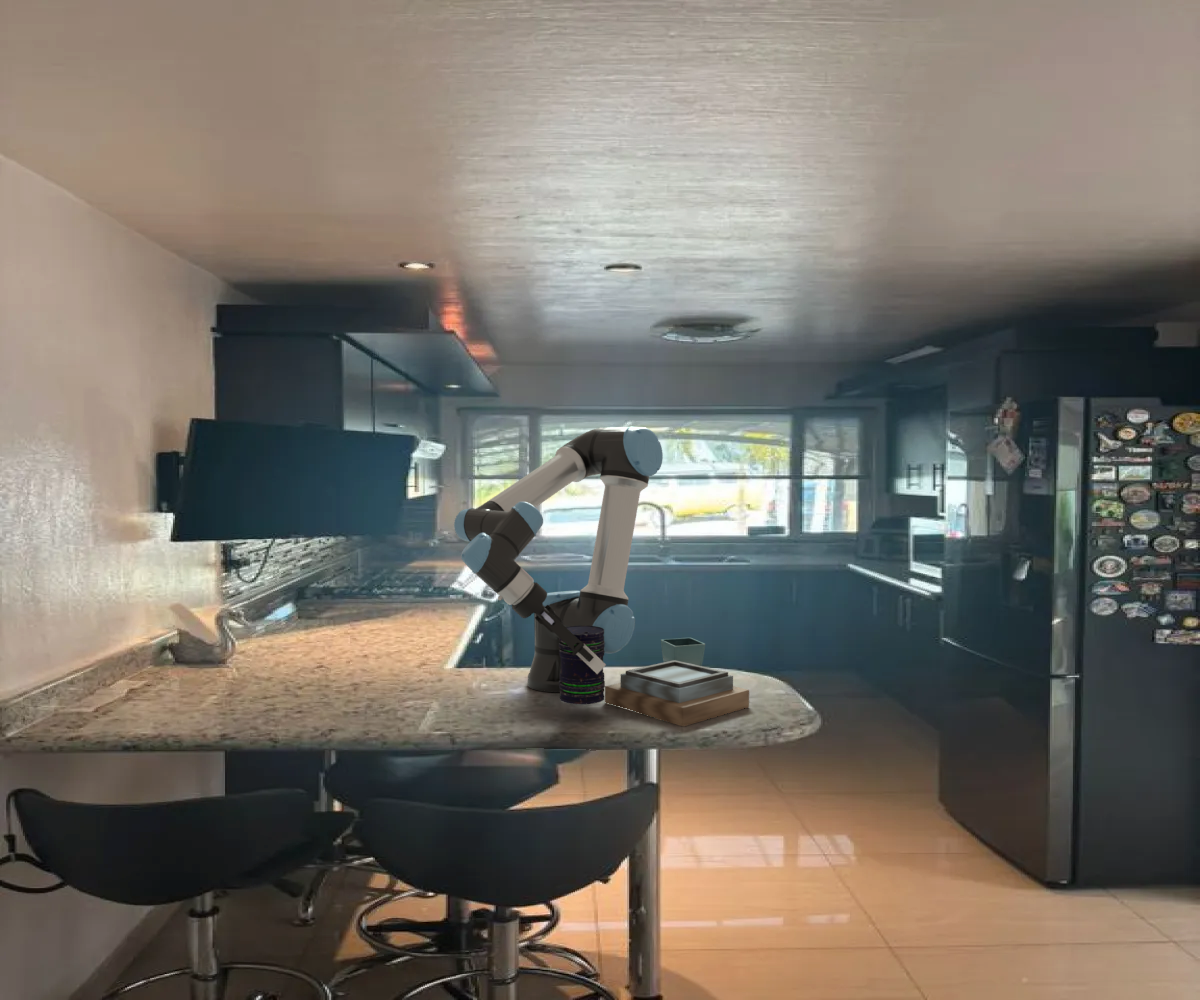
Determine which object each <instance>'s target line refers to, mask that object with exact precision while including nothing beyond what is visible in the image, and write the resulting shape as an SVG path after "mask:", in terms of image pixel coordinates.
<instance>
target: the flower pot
mask: <svg viewBox="0 0 1200 1000" xmlns="http://www.w3.org/2000/svg"><path fill="white" fill-rule="evenodd" d="M660 645H661V646H660V647H661V654H662V661H663V663H664V662H668V661H673V660H676V661H681V662H685V663H690V664H694V665H698V666H703V662H704V655H705V650H706V649H705V648H706V643H705V642H702V641H700V640H697V639H695V638H692V637H681V638H679V637H678V638H665V639H660Z"/></svg>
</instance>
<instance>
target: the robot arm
mask: <svg viewBox="0 0 1200 1000" xmlns="http://www.w3.org/2000/svg"><path fill="white" fill-rule="evenodd" d="M662 448H663V447H662V445H661V442H660V441H659V438H658V435H656V434H655V432H654V431H652V429H649V428H647V427H643V426H635V425H631V426H616V427H614V426H613V427H610V426H609V427H605V426H604V427H597V428H593V429H590V430H589V431H588V430H587V431H586V432H584V433H582V434H580V435H579V436H577V437H575V438H573V439H572V440H570V441H568V442H567V443H565V444H564V445H562V446H561V447H559V448H558V449H557V450H556V452H555V455H554V456H553V457H551V458H550V459H549V460H548V461H545V462H544V463H543V464H541V465H539V466H538V467H537V468H535V469H533V470H532V471H531V472H529V473H528V474H526V475H524V476H523V477H522V478H521V479H519V480H517V481H516V482H514V483H513V484H511V485H510V486H508V487H507V488H505V489H504V490H502V491H501V492H499V493H498V494H496V495H495V496H493V497H492V498H490V499H489V500H488V501H486V502H484V503H483V504H481V505H479V506H478V507H476V508H474V507H470V508H465V509H462V510H460V511H459V512H458V513H457V515H456V516H455V518H454V524H453V528H454V532H455V534H456V536H457V537H458V538H459V539H460V540H462V541H464V542H469V543H467V545H465V547H464V548H463V550H462V551H461V554H460V559H461V560H462V562H463V563H464V564H465V566H466V567H468V569H470V571H471V572H472V573H473V574H475V575H476V576H477V577H478V578H479V579H480V580H481V581H483V583H485V584H486V585H487V586H488V587H489V588H491V590H492V591H493V592H494V593H495V594H497V595H498V596H497V600H498V601H502V600H503V601H504V602H505V603H506V604H507V605H509V606H511V607H512V608H511V609H512V610H514V612H515V613H516V614H517V615H518V616H519V617H521V618H522V619H528V618H529V617H531V615H532V614H533V615H534V617H533V619H534V620H533V621H534V623H533V624H534V655H533V659H532V662H531V665H530V670H529V673H528V675H527V687H528V688H530V689H532V690H535V691H539V692H543V693H544V692H545V693H546V692H547V693H560V688H559V681H560V673H561V657H560V653H559V651H560V648H559V641H560V640H559V638H561V639H562V640H563V641H564V642H565V643H566V644H567V645H568V646H569V647H570V648H571V649H572V650H573V653H572V655H573V656H575V655H578V656H579V657H580V658H581V659H582V660H583V661H584V662H585V663H586V664H587V665H588V666H589V667H590V668H591V669H592V670H593V671H594V672H595V673H596V674H598V673H599V672H600V671H601V670H602V669H603V670H604V668H605V666H607V664H606V663H605V662H604V660H603V661H602V660H601V659H600V658H599V657H597V656H596V655H595V654H594V653H593V652H592V651H591V650H590V649H589V648H588V647H587V646H586V645H585V644H584V643H583V642H581V641H580V640H579V639H578V638H577V637H576V636H574V635H573V634H572V633H571V632H570V631H569V630H568V629H567V628H566V627H568V626H596V627H601V628H603V629H604V641H605V647H604V651H605V652H604V654H614V653H618V652H619V651H621V650H623V648H624V647H625V646H627V645H628V644H629V642H630V641H631V639H632V637H633V635H634V631H635V627H636V626H635V625H636V623H635V622H636V618H635V616H634V611H633V610H632V609H631V608H630V607H629V606H628V605H629V597H628V596H627V594H626V593H625V590H624V589H625V584H626V577H627V572H628V566H629V562H630V561H629V560H630V554H631V549H632V543H633V537H634V536H633V535H634V530H635V525H636V519H637V513H638V507H639V502H640V496H641V492H642V491H643V490H644V489H646V488H648V486H649V481H650V477H653V476H654V475H656V474H657V473H658V472H659V470H660V469H661V467H662V464H663V458H664V457H663V454H664V453H663V449H662ZM596 475H600V476H599V479H600V480H601V482H602V483H603V484H604V490H603V494H602V496H603V497H602V501H601V502H602V503H601V506H600V514H599V519H598V523H597V524H598V525H597V529H596V537H595V542H594V547H593V552H592V559H591V564H590V571H589V574H588V575H589V576H588V582H587V584H586V585H585V586H584V587H582V589H580V590H565V591H563V590H562V591H554V592H553V591H552V592H547V591H546V590H545V589H544V588H543V587H542V586H541V585H540V584H539V583H538V582H534V578H533V577H532V576H531V575H530V574H529V573H528V572H527V571H526V570H524V569H523V567H522V566H520V565H519V564H518V563H517V561H515V560H516V559H517V558H518V557H519V556H520V554H521V553H522V552H523V550H524V549H525V548H526V547H527V546H528V545H529V544H530V543H531V542H532V540H533V539H534V538H535V537H536V536H537V533H538V532H539V530H540V529H541V528H542V527H543V525H544V517H543V515H542V514H541V512H540V510H539V509H538V508H537V507H538V506H539V505H541V504H543V503H544V502H545V501H547V500H548V499H550V498H551V497H552V496H554V495H555V494H557V493H558V492H560V491H561V490H563V489H564V488H566V487H567V486H568V485H570V484H571V483H572V482H573V483H579V482H581V481H583V480H584V479H586V478H588V477H591V476H596ZM576 643H577V644H576ZM575 644H576V645H575ZM574 646H575V647H574Z"/></svg>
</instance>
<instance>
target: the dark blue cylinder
mask: <svg viewBox="0 0 1200 1000" xmlns="http://www.w3.org/2000/svg"><path fill="white" fill-rule="evenodd" d="M566 628H567V629H568V630H569V631H570V632H571V633H572V634H573V635H574V636H576V637H577V638H578V639H579V640H580V641H581V642H583V643H584V644H585V645H586V646H587V647H588V648H589V649H590V650H591V651H592V652H593V653H594V654H595V655H596V656H597V657H599V658H600V659H601V660H602V661H603V662H604V656H605V653H604V652H605V651H604V647H605V641H604V629H603V628H601V627H596V626H568V627H566ZM559 640H560V641H559V648H560V651H559V653H560V657H561V673H560V681H559V688H560V692H559V693H560V694H559V700H560V701H561V702H562V703H565V704H569V705H579V706H582V705H593V704H598V703H601V702H603V701H605V686H606V683H605V682H606V681H605V671H604V668H603V669H602V670H601V671H600V672H599V673H598V674H596V673H595V672H594V671H593V670H592V669H591V668H590V667H589V666H588V665H587V664H586V663H585V662H584V661H583V660H582V659H581V658H580V657H579V656H578V655H575V656H573V655H572V653H573V650H572V649H571V648H570V647H569V646H568V645H567V644H566V643H565V642H564V641H563V640H562V639H561V638H559ZM576 644H577V643H576ZM576 644H575V645H576ZM574 647H575V646H574Z"/></svg>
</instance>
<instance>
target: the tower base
mask: <svg viewBox="0 0 1200 1000" xmlns="http://www.w3.org/2000/svg"><path fill="white" fill-rule="evenodd" d="M605 702H606V703H609V704H613V705H616V706H620V707H623V708H627V709H630V710H633V711H636V712H639V713H642V714H645V715H648V716H647V717H649V716H651V717H650V718H652V717H655V718H654V719H656V718H657V719H656V720H659V719H661V720H660V721H662V720H664V721H663V722H666V721H667V722H666V723H669V722H670V724H673V725H676V726H680V727H686V726H691V725H693V724H697V723H701V722H703V721H707V719H708V720H711V719H714V718H718V717H721V716H724V714H725V715H728V714H731V713H734V711H735V712H738V711H741V709H742V710H745V709H747V708H748V707H750V690H749V689H747V688H742V687H738V686H734V675H730V674H729V672H728V671H724V670H719V669H716V668H711V667H708V666H703V665H701V666H698V665H694V664H690V663H685V662H681V661H676V660H673V661H668V662H664V661H663V662H659V663H657V664H656V663H654V664H651V665H646V666H645V665H644V666H642V667H641V666H640V667H637V668H633V669H628V670H625V673H624V672H623V673H621V674H620V682H618V683H614V684H609V685H605V687H604V703H605ZM744 708H745V709H744ZM639 713H638V714H639ZM727 713H728V714H727ZM642 714H641V715H642ZM645 715H644V716H645ZM717 716H718V717H717ZM710 718H711V719H710Z"/></svg>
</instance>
